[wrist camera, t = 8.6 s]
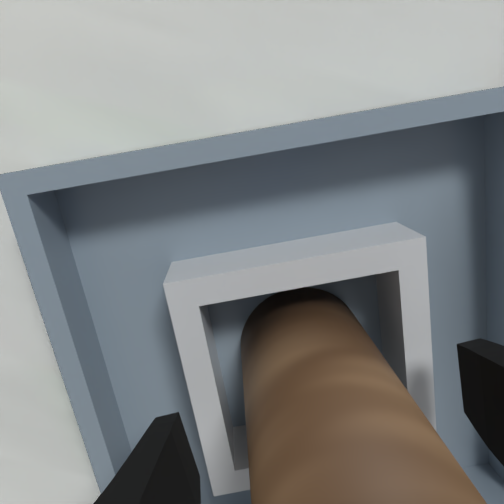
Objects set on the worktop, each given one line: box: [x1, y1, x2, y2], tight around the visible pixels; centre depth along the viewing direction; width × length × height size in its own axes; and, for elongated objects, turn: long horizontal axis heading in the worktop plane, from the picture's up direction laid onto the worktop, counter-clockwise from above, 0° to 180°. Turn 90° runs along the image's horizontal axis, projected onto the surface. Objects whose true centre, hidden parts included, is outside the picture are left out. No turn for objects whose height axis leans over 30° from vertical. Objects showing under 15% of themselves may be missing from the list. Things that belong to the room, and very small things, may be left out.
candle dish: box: [0, 87, 504, 504], centre depth 14 cm, size 14×14×3 cm
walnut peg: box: [240, 287, 487, 504], centre depth 10 cm, size 4×4×8 cm
